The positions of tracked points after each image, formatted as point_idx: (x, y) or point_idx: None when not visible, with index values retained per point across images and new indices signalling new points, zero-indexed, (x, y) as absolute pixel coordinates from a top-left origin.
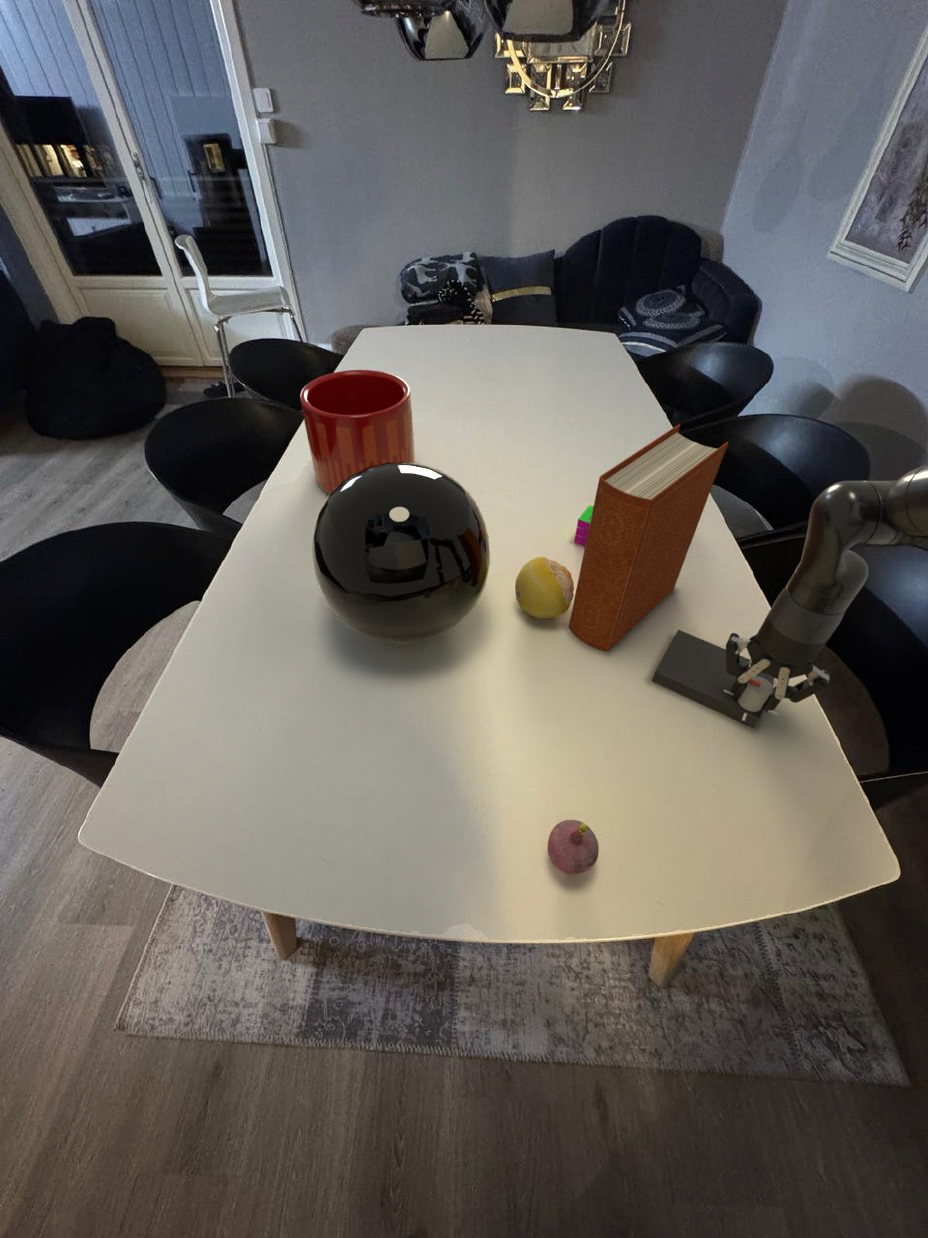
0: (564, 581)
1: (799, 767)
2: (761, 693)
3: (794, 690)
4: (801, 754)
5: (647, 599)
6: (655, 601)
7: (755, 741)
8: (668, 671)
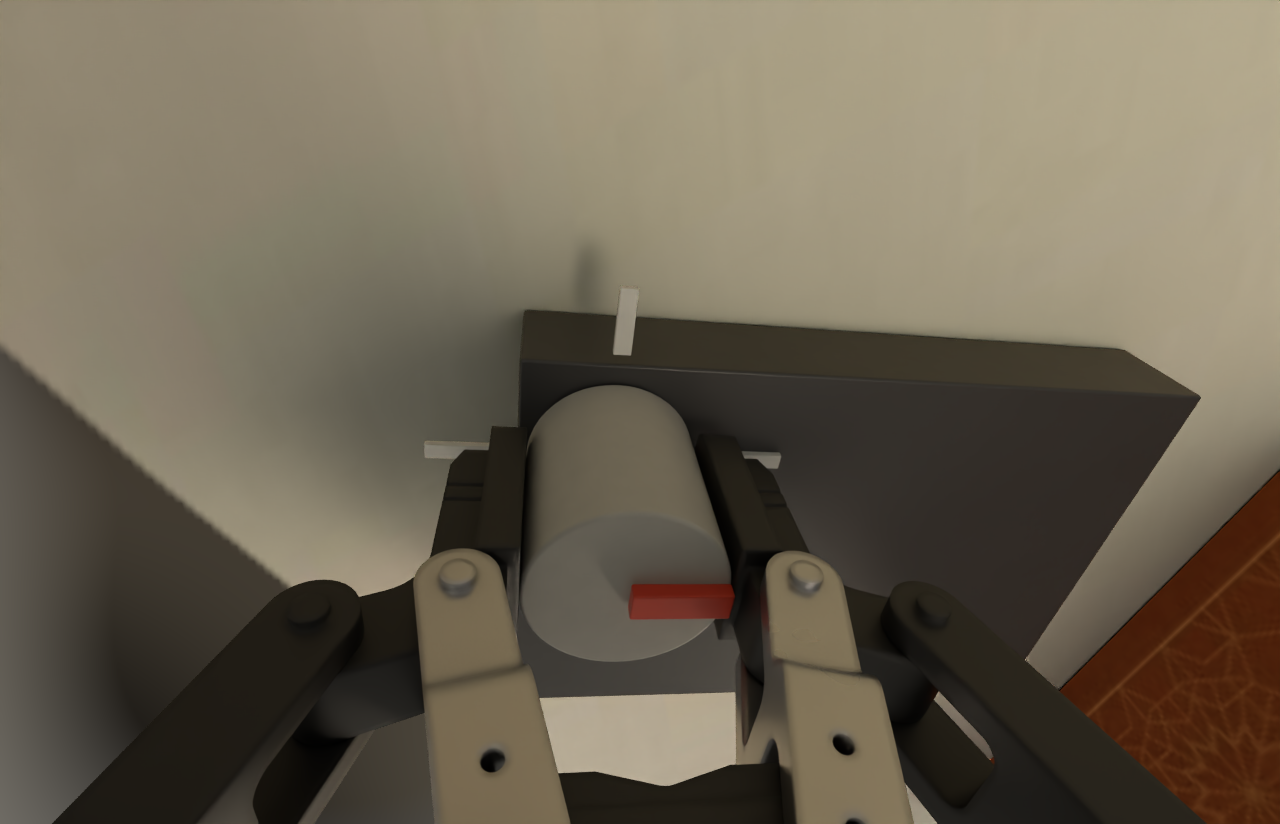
0: None
1: (144, 132)
2: (606, 536)
3: (345, 703)
4: (187, 257)
5: (1235, 776)
6: None
7: (487, 211)
8: (1117, 433)
